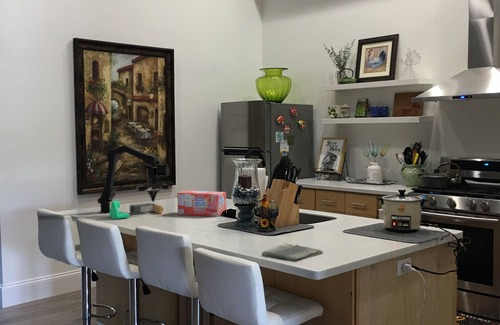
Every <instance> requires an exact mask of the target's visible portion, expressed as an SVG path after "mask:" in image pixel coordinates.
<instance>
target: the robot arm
mask: <svg viewBox="0 0 500 325" xmlns="http://www.w3.org/2000/svg"><path fill="white" fill-rule="evenodd" d="M125 153H127V154H129V155H131V156H133V157H135V158H138V159H140V160H141V161H142V162H144V163H145V166H144V167H143V169H146V172H147V174H146V175H147V177H146V180H147V185H136V187H135V190H136V191H138V192H147V193H148V195H149V197H150V200H151V203H152V202H153V203H154V202H155V199H156V197H157V193H159V192H160V189H163V190H169V189H170V186H169V184H167V183H164V181H163V179H162V180H161V179H160V180H159V178H158V176H159V177H169V175H170V172H171V171H170V167H169V165H168V164H162V163H161V162H160V161H159V159H158V156H157V155H156V154H151V153H145V152H143V151H142V150H138V149H136V148H135V147H131V146H130V145H128V144H124V145H123V144H122V145H121V146H119V147H117V148H114V149H113V148H112V149H109V150H108V151H107V153H106V159H107V162H108V164H107V171H106V178H105V184H104V187H103V189H102V190H101V194H100V197H98V199H97V203H98V204H100V210H99V211H98V213H101V214H108V213H110V208H111V203H112V201H113V199H114V197H116V191H117V188H116V189H115V188H114V182H115V175H116V174H115V173H116V167H117V163H118V162H119V160H120V157H121V155H124V154H125Z"/></svg>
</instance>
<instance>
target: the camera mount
mask: <svg viewBox="0 0 500 325" xmlns="http://www.w3.org/2000/svg"><path fill="white" fill-rule="evenodd" d="M120 207H121V202H120V201H119V200H112V202H111V203H110V213H109V215H108V216H109V217H111V219H113V220H119V219H127V218H130V213H127V212H124V211H120Z"/></svg>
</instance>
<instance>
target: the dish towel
mask: <svg viewBox="0 0 500 325" xmlns="http://www.w3.org/2000/svg"><path fill="white" fill-rule="evenodd" d="M323 252H324V251H323V250H321V249H320V248H318V249H317V248H312V247H308V246H302V245H298V244H295V245H293V244H290V243H287V242H284V243H282V244H280V245H279V244H278V245H277V246H274V247H272V248H269V249H267V250H264V251H262V253H261V256H263V257H268V258H272V259H274V258H275V259H279V260H285V261H291V262H296V263H297V262H300V261H304V260H307V259H310V258H313V257H316V256H320V255H323Z"/></svg>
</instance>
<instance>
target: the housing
mask: <svg viewBox="0 0 500 325" xmlns="http://www.w3.org/2000/svg"><path fill="white" fill-rule="evenodd" d="M154 204H155V203H154V202H153V203H152V202H147V203H146V202H144V203H143V202H142V203H135V204H130V205H129V214H133V215H139V214H140V215H142V214H147V213H148V214H150V213H155V212H154Z"/></svg>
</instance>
